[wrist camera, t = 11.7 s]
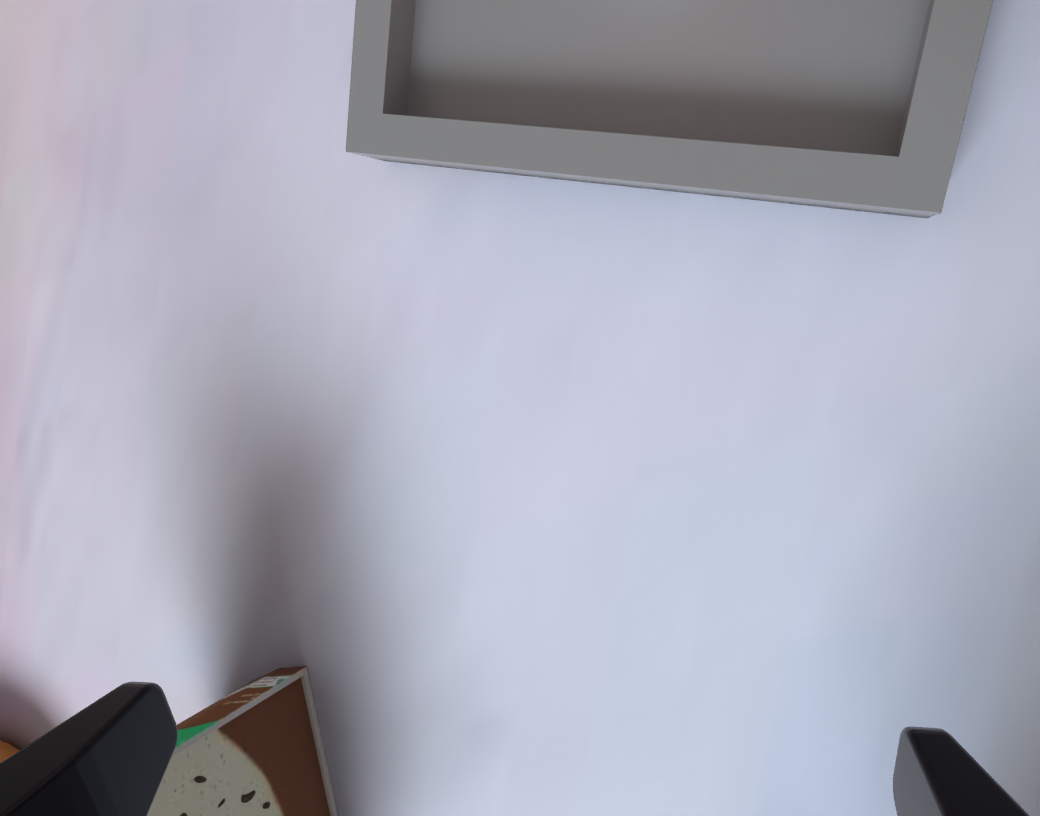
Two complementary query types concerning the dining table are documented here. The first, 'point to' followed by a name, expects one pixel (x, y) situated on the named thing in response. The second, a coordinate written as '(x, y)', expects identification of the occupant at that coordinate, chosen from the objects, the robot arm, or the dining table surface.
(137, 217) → the dining table surface
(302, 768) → the food container
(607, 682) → the dining table surface
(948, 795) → the robot arm
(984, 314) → the dining table surface
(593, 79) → the tray
